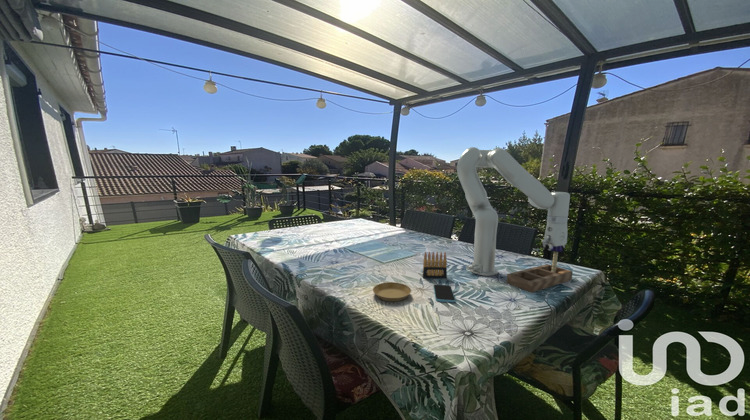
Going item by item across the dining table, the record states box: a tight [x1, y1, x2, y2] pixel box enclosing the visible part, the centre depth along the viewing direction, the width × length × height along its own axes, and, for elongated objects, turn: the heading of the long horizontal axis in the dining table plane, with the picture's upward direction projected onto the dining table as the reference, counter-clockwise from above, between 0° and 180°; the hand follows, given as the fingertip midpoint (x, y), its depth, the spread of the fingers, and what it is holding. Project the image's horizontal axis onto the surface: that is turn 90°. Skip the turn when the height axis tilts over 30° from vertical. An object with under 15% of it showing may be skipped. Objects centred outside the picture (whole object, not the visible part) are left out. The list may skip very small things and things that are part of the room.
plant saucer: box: [372, 281, 412, 303], centre depth 105 cm, size 15×15×3 cm
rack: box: [506, 263, 573, 293], centre depth 119 cm, size 29×11×4 cm, turn 118°
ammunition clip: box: [422, 251, 448, 279], centre depth 123 cm, size 11×2×12 cm, turn 88°
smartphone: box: [432, 284, 456, 303], centre depth 106 cm, size 7×1×15 cm
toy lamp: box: [551, 246, 563, 273], centre depth 123 cm, size 5×5×17 cm
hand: (553, 257), depth 122 cm, fingers open, 9 cm apart
